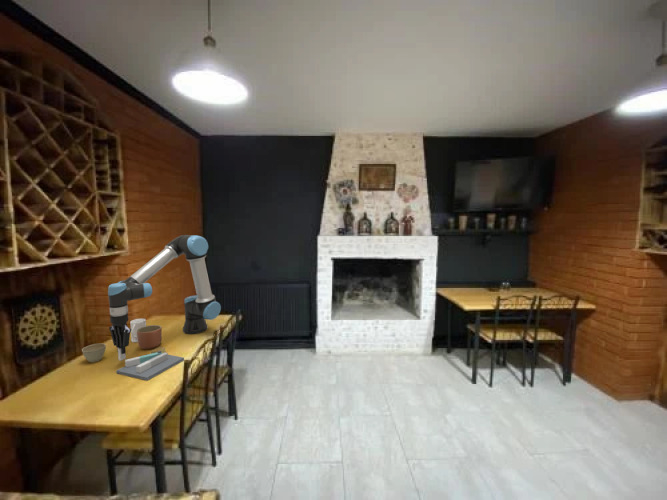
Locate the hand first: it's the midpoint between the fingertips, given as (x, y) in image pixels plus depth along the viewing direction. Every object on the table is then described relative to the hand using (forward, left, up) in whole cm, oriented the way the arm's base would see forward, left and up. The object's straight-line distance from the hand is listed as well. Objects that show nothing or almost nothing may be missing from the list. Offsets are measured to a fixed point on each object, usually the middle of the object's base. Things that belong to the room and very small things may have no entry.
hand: (122, 359), depth 161 cm
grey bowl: (+1, -19, -4) cm, 19 cm away
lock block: (-13, +10, -2) cm, 16 cm away
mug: (-26, -22, -4) cm, 34 cm away
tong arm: (-4, +10, -2) cm, 11 cm away
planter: (-22, -7, -4) cm, 23 cm away
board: (-4, +15, -3) cm, 16 cm away
